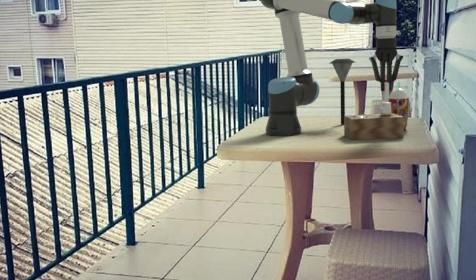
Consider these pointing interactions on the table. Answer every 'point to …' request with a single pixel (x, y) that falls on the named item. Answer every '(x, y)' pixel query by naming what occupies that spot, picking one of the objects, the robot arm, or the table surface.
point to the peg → (385, 109)
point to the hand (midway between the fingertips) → (385, 99)
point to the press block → (373, 126)
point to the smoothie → (399, 103)
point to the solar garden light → (342, 79)
